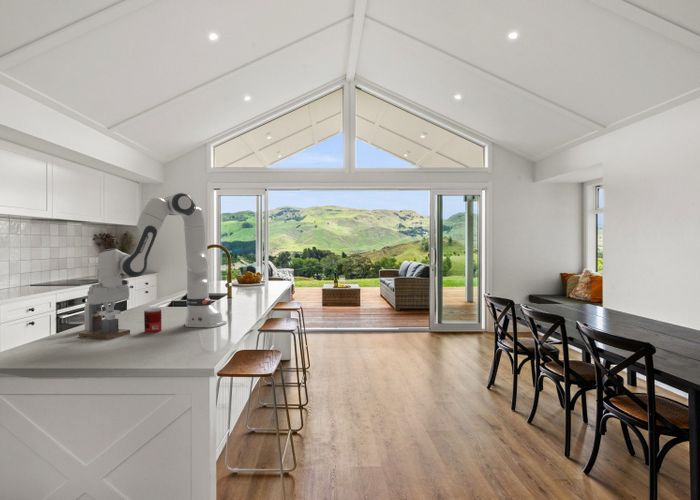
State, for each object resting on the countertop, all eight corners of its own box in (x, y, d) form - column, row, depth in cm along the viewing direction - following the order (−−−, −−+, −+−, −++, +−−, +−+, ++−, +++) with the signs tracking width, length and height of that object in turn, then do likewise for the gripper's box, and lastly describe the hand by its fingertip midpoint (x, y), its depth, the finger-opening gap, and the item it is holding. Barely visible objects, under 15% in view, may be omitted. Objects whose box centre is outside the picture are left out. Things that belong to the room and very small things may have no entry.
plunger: (120, 327, 207) (120, 310, 207) (109, 329, 201) (108, 312, 201) (103, 325, 211) (103, 309, 211) (91, 328, 205) (91, 311, 205)
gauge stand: (130, 333, 209) (129, 303, 209) (106, 340, 197) (106, 307, 197) (102, 331, 216) (102, 301, 215) (78, 336, 203) (78, 305, 203)
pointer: (103, 314, 209) (103, 313, 209) (97, 315, 206) (97, 314, 206) (100, 314, 209) (100, 312, 209) (94, 315, 206) (94, 313, 206)
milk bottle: (96, 331, 215) (95, 292, 214) (81, 331, 215) (80, 292, 214) (105, 328, 222) (104, 290, 222) (90, 328, 222) (90, 290, 222)
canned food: (164, 329, 219) (164, 308, 219) (155, 333, 211) (155, 311, 211) (150, 329, 220) (150, 308, 219) (141, 332, 212) (140, 310, 211)
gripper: (94, 285, 193) (94, 315, 194) (131, 280, 213) (131, 308, 213) (84, 284, 196) (84, 314, 196) (121, 280, 215) (122, 307, 215)
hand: (109, 311), depth 205 cm, fingers closed, pressing on plunger
